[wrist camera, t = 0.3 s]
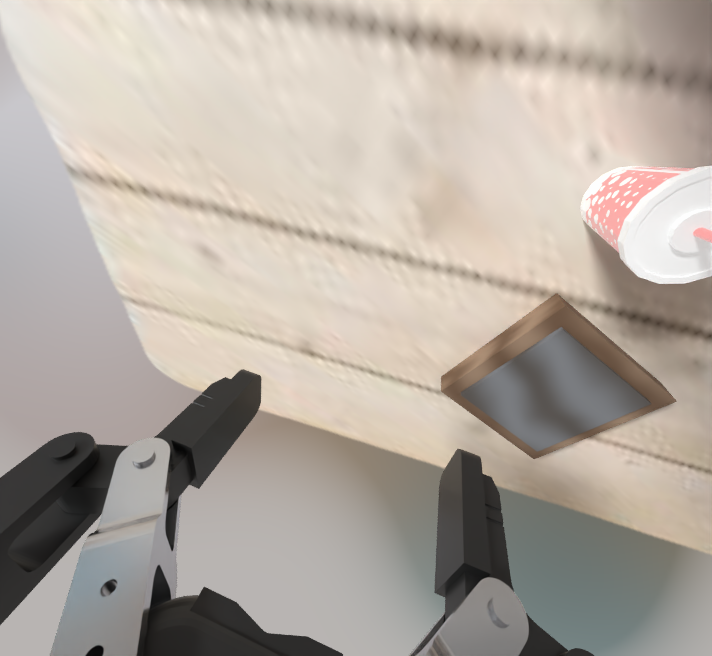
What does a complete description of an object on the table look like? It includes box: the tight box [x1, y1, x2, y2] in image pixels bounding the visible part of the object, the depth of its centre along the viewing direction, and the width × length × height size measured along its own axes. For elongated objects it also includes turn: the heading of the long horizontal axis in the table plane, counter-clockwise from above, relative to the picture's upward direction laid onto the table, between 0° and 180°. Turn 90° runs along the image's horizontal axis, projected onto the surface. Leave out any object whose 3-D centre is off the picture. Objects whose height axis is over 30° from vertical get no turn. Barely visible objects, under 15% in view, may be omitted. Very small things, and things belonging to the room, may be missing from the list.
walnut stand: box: [441, 293, 676, 459], centre depth 32 cm, size 15×15×3 cm
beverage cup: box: [580, 166, 712, 284], centre depth 17 cm, size 6×6×14 cm
